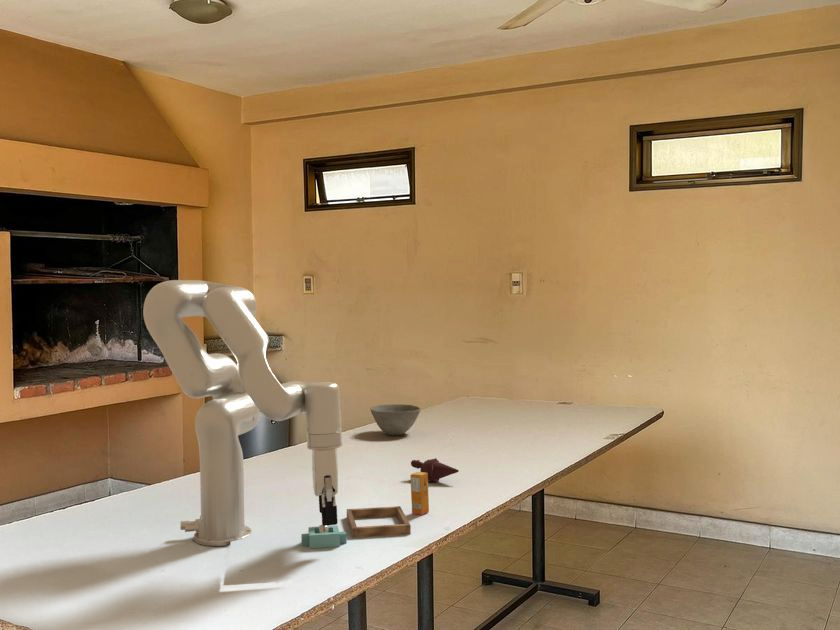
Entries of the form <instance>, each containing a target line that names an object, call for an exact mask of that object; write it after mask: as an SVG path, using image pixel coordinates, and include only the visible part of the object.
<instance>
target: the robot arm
mask: <svg viewBox="0 0 840 630" xmlns="http://www.w3.org/2000/svg"><path fill="white" fill-rule="evenodd" d="M257 311H258V302H257V300H256V298H255V296H254V294H253V292H251V291H250V290H248V289H247V288H245V287H242V286H237V285H236V286H235V285H231V284H230V285H229V284H224V283H223V284H222V283H218V282H213V281H207V280H201V279H172V280H166V281H162V282H160V283H157V284H156V285H154V286H153V287H152V288H151V289H150V290H149V291H148V293H147V294H146V297H145V300H144V302H143V313H142V315H143V320H144V324H145V326H146V329H147V331H148V333H149V335H150V336H151V338H152V339H153V341H154V343H155V344H156V345H157V347H158V348H159V351H160V352H161V354H162V355H163V358H164V360H165V362H166V364H167V366H168V367H169V369H170V371H171V372H172V374H173V377H174V378H175V381H176V382H177V383H178V385H179V387H180V389H181V390H182V392H183V393H184V395H186V396H187V397H189V398H191V399H203V398H207V397H212V399H211V400H209V401H207V402H206V403H204V404H203V405H201V406H200V408H199V409H198V411H197V413H196V415H195V420H194V428H195V435H196V438H197V443H198V451H199V452H198V453H199V475H200V476H199V477H200V479H199V481H200V482H199V483H200V484H199V485H200V516H199V518H195V520H181V521H180V531H184V532H185V533H190V532H194V534H193V540H194V542H195V543H197V544H199V545H202V546H208V547H224V546H230V545H231V542H235V541H239V540H243V539H245V538H247V537H248V536H250V535H251V534H252V528H250V527H249V526H247V525H245V490H244V489H245V485H244V484H245V476H244V475H245V473H244V472H245V471H244V470H245V469H244V454H243V449H242V446H241V443H240V439H239V436H241V435H243V434H246V433H247V432H250V431H252V430H253V429H254V428H255V427H257V425H258V423H259V421H260V418H261V414H263V416H265V418H267V419H269V420H271V421H274V422H281V421H286V420H288V419H291V418H293V417H297V416H300V415H303V414H305V425H306V426H305V428H306V446H307V449H309V450H311V465H312V467H311V468H312V469H311V470H312V488H313V493H314V496H316V497H318V508H319V513H320V514H321V525H323V526H335V525H338V506H337V503H336V495H337V494H338V492H339V490H338V489H339V483H338V482H339V470H338V469H339V468H338V466H339V464H338V462H339V461H338V448H341V447H342V446H343V431H342V413H341V409H342V408H341V392H340V387H339V384H337V383H335V382H333V381H322V382H321V381H319V382H308V381H303V380H302V381H301V380H291V381H290V380H289V381H287V382H283V383H281V382H280V381H279V380H278V379H277V376H275V374H274V373H273V371H272V370H271V368H270V366H269V363H268V360H267V355H266V354H267V349H268V345H269V342H270V338H269V335H268V334H267V332H266V331H265V330H264V328H263V327H262V326H261V324H260V323H259V322H258V321H257V319H256V318H255V316H256V314H257ZM189 317H190V318H191V317H204V318H206V319H207V320H208V322H209V323H210V325H211V326H212V327H213V329H214V330H215V331H216V333H217V334H218V335H219V337H220V338H221V339H222V341H223V342H224V344H225V345H226V347H227V348H228V349H229V351H230V352H231V353H232V355H233V356H234V358H235V360H236V362H237V363H236V362H235V361H234V360H233V359H232V358H231V357H229V356H227V355H225V354H223V353H217V352H214V353H208V352H207V351H206V349H205V348H204V346H203V345H202V343H201V341H200V340H199V337H198V336H197V334H196V333H195V332H194V330H193V329H191V327H190V326H189V325H188V324H187V323H185V321H184V320H183V318H189Z"/></svg>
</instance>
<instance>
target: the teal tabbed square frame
mask: <svg viewBox="0 0 840 630" xmlns="http://www.w3.org/2000/svg"><path fill="white" fill-rule="evenodd" d="M328 528H329V533H319V526H309V527H308V530H307V531H308V533H301V547H303V546H307V547H308V546H309V549H321V548H322V549H323V548H324V549H325V548H337V547H338V548H339V547H341V544H347V532H346V531H347V530H345V531H344V530H343V531H340V529H339V526H338V524H336V525H328Z"/></svg>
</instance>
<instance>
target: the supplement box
mask: <svg viewBox="0 0 840 630" xmlns="http://www.w3.org/2000/svg"><path fill="white" fill-rule="evenodd" d="M413 473H414V474H413ZM413 473H411V474H410V494H411V495H410V497H411V498H410V499H411V514H413V515H418V516H419V515H420V516H423V515H425V514H427V513H430V512H429V511H430V505H429V500H430V499H429V481H428V473H424V472H420V471H416V472H413Z"/></svg>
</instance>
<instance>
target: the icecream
mask: <svg viewBox="0 0 840 630" xmlns="http://www.w3.org/2000/svg"><path fill="white" fill-rule="evenodd" d="M410 466H411V467H413V468H415V469H417V470H418V469H420V470H419V472H424V473H428V482H431V483H437V482H439V481H440V480H441V479H443V478H445V477H448V476H451V475H453V474H456V473H459V471H460V470H459V469H457V468H456V467H455V468H454V467H452V466H450V465H447V464H445V463H442V462H440V461H439V460H438V459H437V457H435V458H431V459H426V460H425V461H424V462H422V461H420V459H412V460H411V461H410ZM414 473H415V472H413V473H412V474H414Z"/></svg>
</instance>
